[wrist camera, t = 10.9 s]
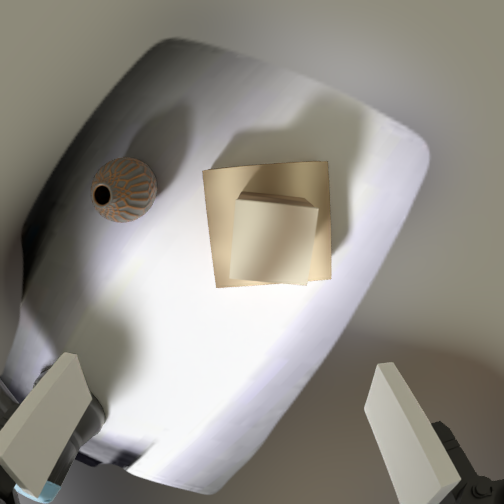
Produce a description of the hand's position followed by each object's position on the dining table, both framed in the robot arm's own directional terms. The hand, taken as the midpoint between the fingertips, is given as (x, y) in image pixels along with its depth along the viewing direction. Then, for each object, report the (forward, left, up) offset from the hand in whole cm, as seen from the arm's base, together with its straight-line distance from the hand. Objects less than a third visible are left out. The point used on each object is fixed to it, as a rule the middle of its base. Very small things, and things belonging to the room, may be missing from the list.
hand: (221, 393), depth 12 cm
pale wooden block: (+3, +3, -20) cm, 20 cm away
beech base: (+3, +3, -25) cm, 25 cm away
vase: (-13, +6, -25) cm, 28 cm away
